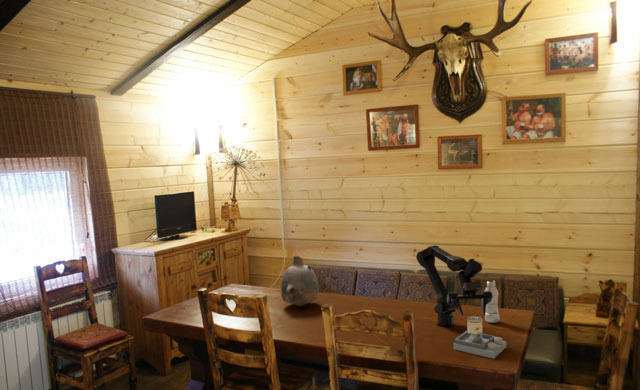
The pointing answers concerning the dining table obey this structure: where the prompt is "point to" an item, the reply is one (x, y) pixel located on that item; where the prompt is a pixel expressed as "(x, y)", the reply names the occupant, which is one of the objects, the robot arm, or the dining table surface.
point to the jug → (299, 284)
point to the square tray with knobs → (480, 345)
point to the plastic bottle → (492, 304)
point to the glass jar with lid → (474, 329)
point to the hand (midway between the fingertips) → (473, 315)
